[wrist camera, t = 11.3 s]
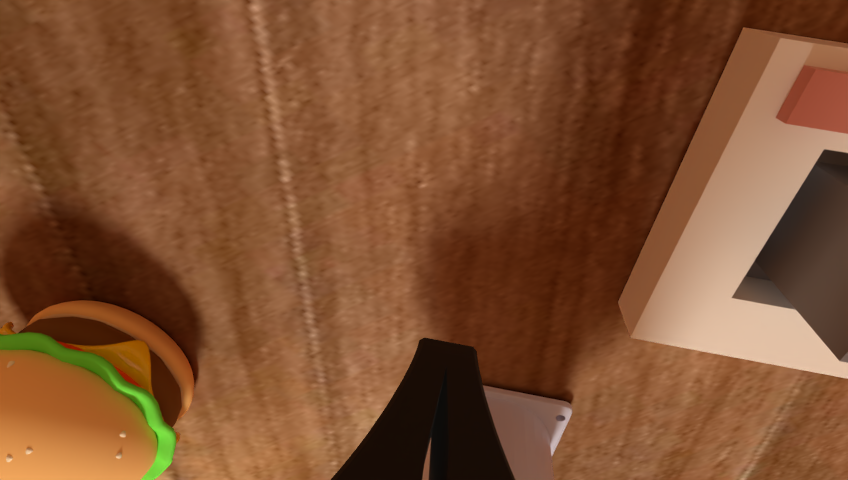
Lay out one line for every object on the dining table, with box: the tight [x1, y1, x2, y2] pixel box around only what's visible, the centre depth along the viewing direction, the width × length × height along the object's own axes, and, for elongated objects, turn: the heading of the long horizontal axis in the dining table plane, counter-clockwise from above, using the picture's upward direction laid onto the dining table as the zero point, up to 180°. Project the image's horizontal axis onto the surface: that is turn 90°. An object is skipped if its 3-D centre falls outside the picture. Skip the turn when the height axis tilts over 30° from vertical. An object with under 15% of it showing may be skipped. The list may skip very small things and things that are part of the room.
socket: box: [618, 27, 848, 378], centre depth 17 cm, size 12×12×3 cm
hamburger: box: [0, 300, 194, 480], centre depth 25 cm, size 12×12×9 cm
